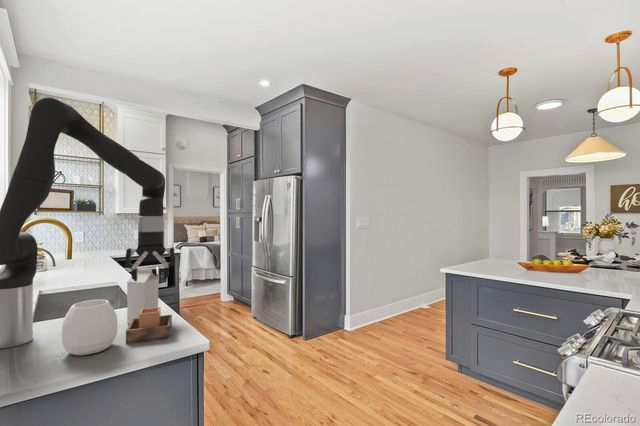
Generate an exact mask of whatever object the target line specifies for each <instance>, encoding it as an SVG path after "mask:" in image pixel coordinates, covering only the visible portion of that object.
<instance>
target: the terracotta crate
mask: <svg viewBox="0 0 640 426" xmlns="http://www.w3.org/2000/svg"><path fill="white" fill-rule="evenodd" d="M161 309H162V308H161V307H159V306H158V308H147V309H141V311H140V313H139V329H140V328H149V327H158V326H160V316H161Z"/></svg>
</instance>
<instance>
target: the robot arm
mask: <svg viewBox="0 0 640 426" xmlns="http://www.w3.org/2000/svg"><path fill="white" fill-rule="evenodd" d="M86 119H87V118H84V116H82V115H81V113H79V111H77V110H76V109H75V108H74V107H73V106H72V105H70V104H68V103H67V102H64V101H63V100H60V99H58V98H54V97H50V96H46V97H42V98H40V99H38V100H37V101H35V103H34V105H33V106H32V108H31V111H30V116H29V121H28V125H27V131H26V134H25V138H24V143H23V146H22V147H21V151H20V153H19V157H18V160H17V163H16V165H15V167H14V170H13V173H12V175H11V178H10V181H9V185H8V188H7V191H6V194H5V197H4V199H3V202H2V204H1V207H0V266H4V265H5V266H4V269H3V270H2V271H1V272H0V349H8V348H13V347H14V348H15V347H17V346H21V345H24V344H26V343H29V342H31V341H32V340H33V338H34V334H33V333H34V330H33V327H34V321H33V320H34V312H33V311H34V278H35V277H36V273H37V266H38V243H37V240H36V238H35V237H34V236H33V235H32V234H30V233H28V232H24V231H22V229H23V226H24V225H25V223H26V222H27V220H28V218H30V217H31V215H33V213H34V212H36V211H37V209H38V208H40V207H41V205H43V203H44V202H45V201H46V200H47V199H48V197H49V195H50V192H51V189H52V186H53V184H54V182H55V177H56V164H55V148H56V145H57V143H58V139H59V136H60V134H64V135H66V136H68V137H70V138H73V140H76V141H78V142H80V143H82V144H83V145H84V146H86V148H88V149H90V150H91V151H92V152H93V153H94V154H96V156H98V158H99V159H101V160H102V161H103V162H105V163H107V164H108V165H109V166H111V167H112V168H114V169H115V170H117V171H118V172H120V173H121V174H123V175H125V176H127V177H128V178H129V179H131V180H132V181H133V182H134V183H136V184H137V185H138V186H140V188H141V187H142V188H141V190H142V191H141V192H142V194H141V195H142V197H141V199H140V201H139V207H138V213H139V214H138V224H137V230H138V231H137V248H131V247H128V248H127V249H126V250H125V251H126V252H125V263H124V267H125V268H128V269H130V270H131V276H132V279H134V281H137V274H138V269H139V268H138V266H140V264H141V263H142V262H145V263H147V262H158V261H159V263H161V265H162V266H163V267H164V268H163V280H164V281H165V280H167V278H169V275H170V270H169V269H170V268H171V267H173V266H175V265H176V264H175V263H176V260H175V259H176V258H175V247H174V246H171V247H166V248H165V221H164V220H165V219H164V200H165V199H164V198H165V190H166V178H165V175H164V174H163V173H162V172H161V171H159V170H158V169H157V168H155V167H153V165H150V164H149V163H147V162H145V161H143V160H142V159H140V158H139V156H137V155H136V154H135V153H133V152H132V151H131V150H129V149H127V148H126V147H125V146H123V145H121V144H120V143H118V142H116V140H114V139H113V138H110V137H109V136H108V135H106V134H105V133H103V132H101V131H100V130H99V129H98V128H96V127H95V126H94V125H92V124H91V123H90V122H89V121H88V120H86ZM165 252H167V255H169V258H170V262H168V261H167V260H166V259H165V257H164V254H165ZM135 253H136V255H138V256H139V258H138V259H137V260H136V261H135V262H134V263H132V256H134V255H135Z"/></svg>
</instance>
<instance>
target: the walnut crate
mask: <svg viewBox="0 0 640 426" xmlns="http://www.w3.org/2000/svg"><path fill="white" fill-rule="evenodd" d="M172 319H173V315H172V314H166V315H160V326H158V327H149V328H140V329H139V318H134V319H132V321H131V322H130V324H128V326H127V328H126V330H125V345H129V344H137V343H146V341H147V342H152V341H153V340H155V341H160V340H161V339H163V340H168V339H169V338H171V334H170V333H172V327H173V323H172V322H173V320H172ZM153 342H154V341H153Z"/></svg>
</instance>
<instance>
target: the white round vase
mask: <svg viewBox="0 0 640 426" xmlns="http://www.w3.org/2000/svg"><path fill="white" fill-rule="evenodd" d="M61 327H62V328H61V343H62V346H63V347H64V350H65V351H66V352H67V353H69V354H71V355H74V356H86V355H91V354H96V353H100V352H102V351H105V350H106V349H108V348H109V347H110V346H112V344H113V343H114V341H115V339H116V337H117V334H118V316H117V313H116V310H115V308H114V307H113V306H112V304H111V302H110V301H109V300H107V299H89V300H84V301H79V302H77V303H76V302H75V303H73V304H72V305H71V307H70V308H69V310H68V311H67V313H66V314H65V316H64V319H63V321H62V325H61Z"/></svg>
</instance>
